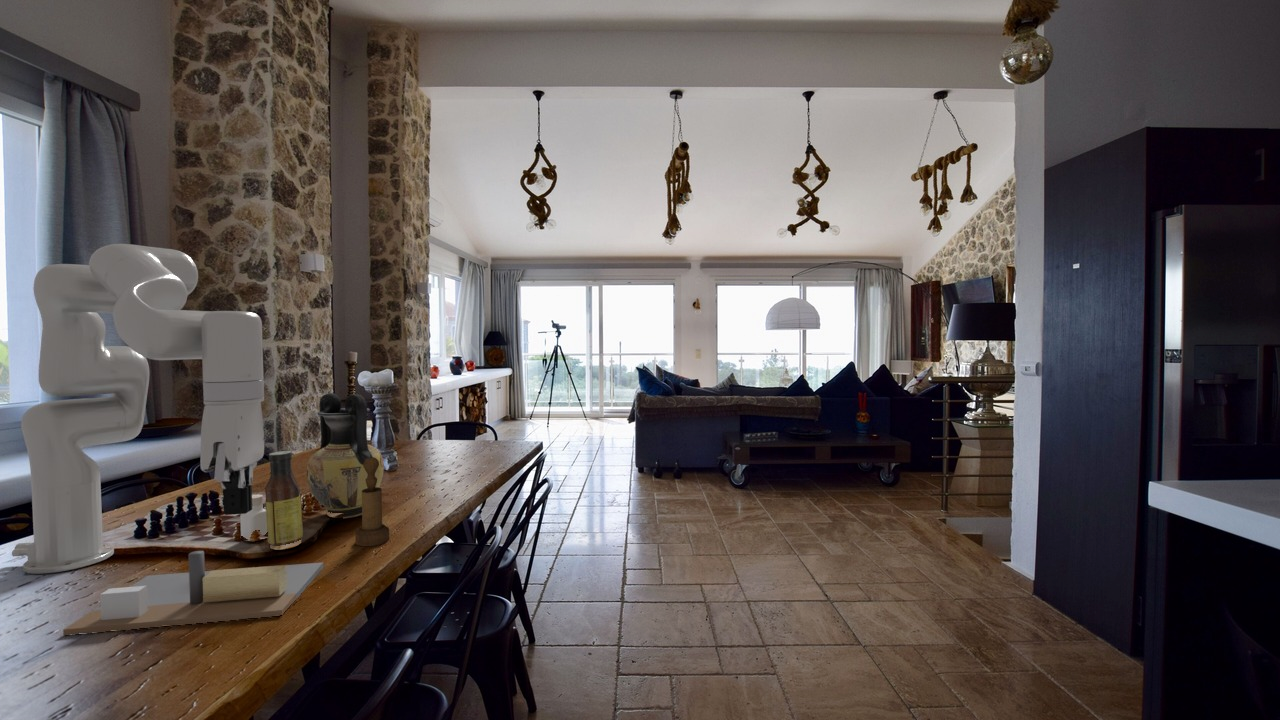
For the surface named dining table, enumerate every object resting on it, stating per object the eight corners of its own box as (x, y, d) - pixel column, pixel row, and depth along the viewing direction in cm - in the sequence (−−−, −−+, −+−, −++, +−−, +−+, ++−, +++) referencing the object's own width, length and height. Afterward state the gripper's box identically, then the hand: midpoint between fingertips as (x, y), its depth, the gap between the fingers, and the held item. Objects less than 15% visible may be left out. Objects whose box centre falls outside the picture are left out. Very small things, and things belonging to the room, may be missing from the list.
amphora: (289, 520, 138) (286, 395, 136) (345, 501, 154) (342, 389, 152) (349, 527, 132) (346, 397, 131) (400, 506, 149) (398, 390, 147)
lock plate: (63, 636, 84) (60, 575, 84) (147, 581, 104) (145, 531, 103) (282, 616, 90) (280, 559, 90) (323, 567, 109) (322, 520, 109)
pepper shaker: (239, 541, 123) (238, 498, 123) (257, 535, 127) (256, 493, 127) (252, 544, 122) (251, 499, 122) (270, 538, 126) (269, 494, 125)
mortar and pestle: (367, 548, 119) (365, 462, 119) (349, 542, 123) (347, 458, 122) (395, 539, 125) (394, 456, 124) (377, 533, 128) (375, 453, 128)
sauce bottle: (309, 542, 123) (307, 449, 122) (289, 553, 117) (286, 455, 116) (281, 541, 124) (278, 449, 123) (259, 552, 118) (256, 455, 117)
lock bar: (203, 602, 92) (202, 577, 92) (213, 594, 95) (212, 570, 95) (279, 596, 94) (278, 572, 94) (286, 588, 97) (286, 564, 97)
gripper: (230, 389, 94) (234, 500, 95) (177, 398, 79) (182, 530, 80) (281, 388, 95) (285, 497, 96) (238, 397, 81) (242, 526, 81)
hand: (238, 512), depth 88 cm, fingers closed
